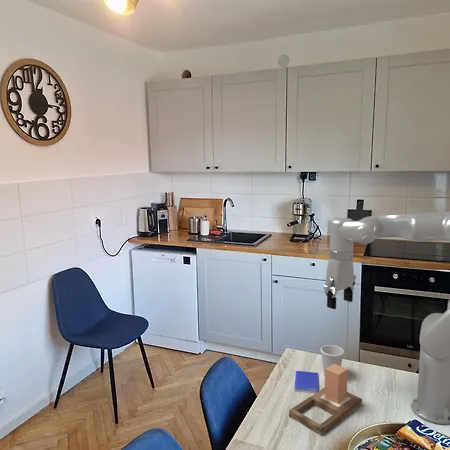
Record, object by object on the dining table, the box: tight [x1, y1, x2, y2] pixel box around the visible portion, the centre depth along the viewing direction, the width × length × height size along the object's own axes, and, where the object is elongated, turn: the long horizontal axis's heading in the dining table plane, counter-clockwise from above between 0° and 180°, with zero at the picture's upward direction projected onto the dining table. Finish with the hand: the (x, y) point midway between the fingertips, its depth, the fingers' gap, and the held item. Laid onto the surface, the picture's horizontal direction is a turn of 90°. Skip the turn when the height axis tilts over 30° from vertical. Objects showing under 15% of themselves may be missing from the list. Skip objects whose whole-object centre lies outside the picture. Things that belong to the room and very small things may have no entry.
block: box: [324, 364, 348, 404], centre depth 128 cm, size 5×5×10 cm
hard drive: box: [293, 370, 320, 395], centre depth 142 cm, size 2×8×12 cm
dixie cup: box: [320, 344, 345, 377], centre depth 145 cm, size 8×8×10 cm
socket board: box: [288, 387, 363, 436], centre depth 126 cm, size 12×22×2 cm, turn 131°
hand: (339, 304), depth 134 cm, fingers open, 9 cm apart
